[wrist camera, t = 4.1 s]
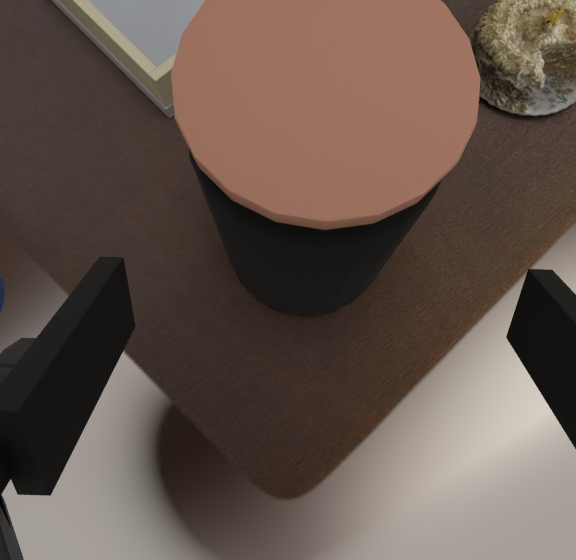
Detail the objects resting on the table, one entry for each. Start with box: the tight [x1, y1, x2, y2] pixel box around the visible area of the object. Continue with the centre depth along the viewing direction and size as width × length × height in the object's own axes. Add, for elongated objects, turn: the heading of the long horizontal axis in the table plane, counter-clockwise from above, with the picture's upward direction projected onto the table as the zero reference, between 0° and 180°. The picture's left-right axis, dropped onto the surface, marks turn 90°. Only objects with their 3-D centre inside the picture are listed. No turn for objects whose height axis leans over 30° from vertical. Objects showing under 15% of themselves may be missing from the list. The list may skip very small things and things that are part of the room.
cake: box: [468, 0, 576, 116], centre depth 35 cm, size 10×10×5 cm
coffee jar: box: [171, 0, 480, 316], centre depth 25 cm, size 11×11×18 cm
